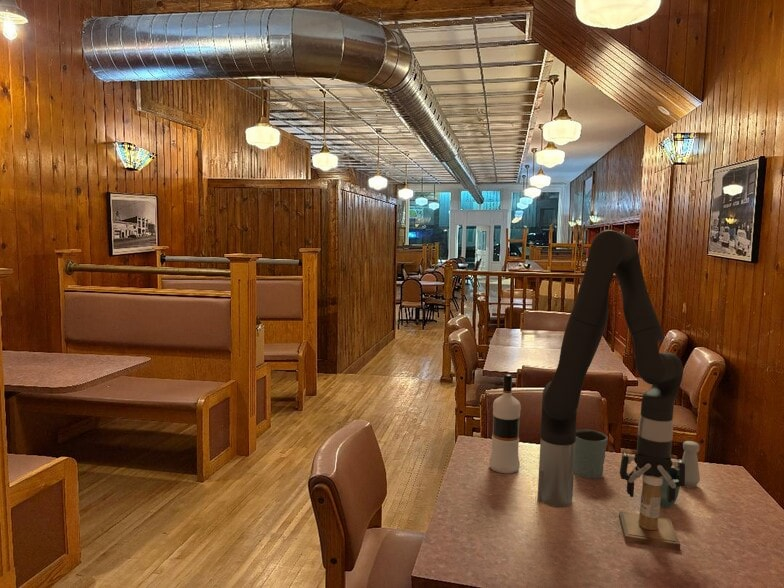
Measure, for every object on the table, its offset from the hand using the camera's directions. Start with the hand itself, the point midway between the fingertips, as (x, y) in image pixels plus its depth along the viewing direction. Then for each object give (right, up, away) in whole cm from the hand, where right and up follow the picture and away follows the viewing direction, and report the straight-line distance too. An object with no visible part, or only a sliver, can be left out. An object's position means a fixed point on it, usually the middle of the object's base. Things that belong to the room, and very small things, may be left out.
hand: (649, 498), depth 136 cm
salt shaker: (+24, -6, +28) cm, 37 cm away
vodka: (-28, -4, +37) cm, 47 cm away
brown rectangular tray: (0, -9, +1) cm, 9 cm away
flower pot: (+11, -8, +17) cm, 21 cm away
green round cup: (-3, -5, +35) cm, 36 cm away
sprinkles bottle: (0, -8, +1) cm, 8 cm away
